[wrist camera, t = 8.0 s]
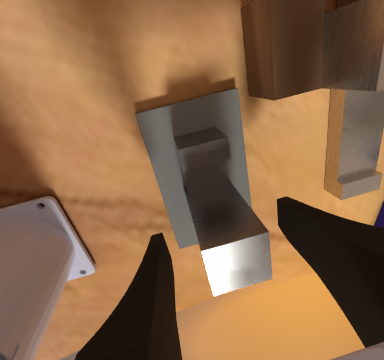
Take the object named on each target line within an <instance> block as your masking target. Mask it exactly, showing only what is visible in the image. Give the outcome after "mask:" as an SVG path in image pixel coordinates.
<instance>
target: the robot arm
mask: <svg viewBox="0 0 384 360" xmlns="http://www.w3.org/2000/svg"><path fill="white" fill-rule="evenodd" d="M39 203H42V204H44V205H45V206H41V205H40V204H39ZM277 211H278V226H279V228H280V229H281V231H282V232H283V234H284V235H285V237H286V238H287V240H288V241H289V242H290V243H291V244H292V245H293V247H294V248H295V249H296V250H297V251H298V252H299V254H300V255H301V256H302V257H303V258H304V259H305V260H306V262H307V263H308V264H309V265H310V266H311V267H312V269H313V270H314V271H315V272H316V273H317V275H318V276H319V277H320V278H321V280H322V282H323V283H324V284H325V286H326V287H327V289H328V290H329V291H330V293H331V294H332V296H333V297H334V299H335V300H336V301H337V303H338V305H339V306H340V308H341V309H342V311H343V312H344V314H345V316H346V317H347V319H348V320H349V322H350V323H351V325H352V327H353V328H354V330H355V331H356V333H357V335H358V336H359V338H360V339H361V341H362V343H363V345H364V346H365V348H364V349H361V350H358V351H355V352H352V353H349V354H346V355H343V356H340V357H337V358H334V359H331V360H384V228H381V227H377V226H372V225H367V224H363V223H359V222H356V221H352V220H348V219H345V218H342V217H339V216H336V215H333V214H330V213H327V212H324V211H322V210H319V209H317V208H314V207H311V206H309V205H307V204H304V203H302V202H299V201H297V200H294V199H292V198H289V197H283V198H280V199H277ZM95 269H96V266H95V264H94V262H93V261H92V259H91V257H90V256H89V254H88V252H87V251H86V249H85V247H84V246H83V244H82V242H81V241H80V239H79V237H78V236H77V234H76V232H75V230H74V229H73V227H72V225H71V224H70V222H69V220H68V219H67V217H66V215H65V214H64V212H63V210H62V209H61V207H60V205H59V204H58V202H57V200H56V199H55V198H54V197H52V196H45V197H42V198H38V199H34V200H30V201H27V202H23V203H19V204H15V205H12V206H8V207H4V208H1V209H0V360H33V359H34V357H35V354H36V352H37V350H38V347H39V345H40V343H41V340H42V338H43V336H44V333H45V331H46V328H47V326H48V324H49V321H50V319H51V317H52V314H53V312H54V310H55V307H56V305H57V303H58V300H59V298H60V295H61V293H62V291H63V288H64V286H65V284H66V281H69V280H73V279H76V278H80V277H83V276H87V275H90V274H93V273H94V272H95ZM83 270H85V271H83ZM75 360H182V355H181V348H180V342H179V335H178V328H177V321H176V308H175V287H174V272H173V266H172V260H171V256H170V253H169V250H168V247H167V245H166V242H165V239H164V236H163V234H162V233H159V234H155V235H152V236H151V238H150V242H149V244H148V247H147V250H146V253H145V255H144V257H143V260H142V262H141V264H140V267H139V269H138V271H137V273H136V275H135V277H134V279H133V281H132V283H131V284H130V286H129V288H128V290H127V291H126V293H125V295H124V296H123V298H122V299H121V301H120V302H119V304H118V305H117V307H116V308H115V309H114V311H113V312H112V314H111V315H110V316H109V318H108V319H107V320H106V321H105V323H104V324H103V325H102V326H101V328H100V329H99V330H98V331H97V332H96V334H95V335H94V336H93V337H92V338H91V339H90V340H89V341H88V342H87V343H86V345H85V346H84V347H83V348H82V349H81V350H80V351H79V352H78V353H77V355H76V358H75Z"/></svg>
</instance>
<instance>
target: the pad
mask: <svg viewBox="0 0 384 360" xmlns="http://www.w3.org/2000/svg"><path fill="white" fill-rule="evenodd" d="M135 115H136V118H137V121H138V124H139V127H140V130H141V133H142V136H143V139H144V143H145V146H146V149H147V152H148V155H149V158H150V161H151V164H152V167H153V170H154V173H155V176H156V179H157V182H158V185H159V188H160V191H161V194H162V197H163V200H164V203H165V206H166V209H167V212H168V215H169V218H170V221H171V224H172V228H173V231H174V234H175V237H176V240H177V243H178V246H179V249H181V248H185V247H188V246H192V245H195V244H198V243H199V242H198V239H197V235H196V232H195V228H194V225H193V221H192V217H191V214H190V210H189V206H188V203H187V199H186V195H185V192H184V187H186V183H185V179H184V175H183V171H182V168H181V164H180V160H179V156H178V153H177V149H176V145H175V141H174V137H178V136H181V135H185V134H189V133H193V132H197V131H201V130H204V129H208V128H212V127H216V128H217V129H218V130H220V131H221V132H222V133H223V134H225V135H226V136H227V137H228V141H229V147H230V154H231V159H229V160H226V161H225V163H226V169H227V176H228V179H229V180H230V181H231V183H232V184H233V185H234V186H235V188H236V189H237V190H238V192H239V193H240V194H241V196H242V197H243V198H244V200H245V201H246V202H247V204H248V205H249V206H250V208H251V209H252V207H251V199H250V190H249V181H248V172H247V164H246V155H245V146H244V137H243V128H242V120H241V111H240V102H239V93H238V88H232V89H228V90H224V91H221V92H217V93H213V94H209V95H205V96H201V97H197V98H193V99H189V100H185V101H181V102H177V103H173V104H169V105H165V106H161V107H158V108H154V109H150V110H146V111H142V112H138V113H136V114H135Z"/></svg>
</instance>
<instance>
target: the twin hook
mask: <svg viewBox="0 0 384 360" xmlns="http://www.w3.org/2000/svg"><path fill="white" fill-rule="evenodd" d="M321 88H324V89H331V94H330V109H329V124H328V140H327V155H326V170H325V185H324V189H325V190H326V191H328V192H329V193H331V194H332V195H334V196H335V197H337V198H339V199H340V200H343V199H347V198H350V197H354V196H357V195H360V194H364V193H367V192H371V191H374V190H378V189H379V188H380V183H381V178H382V173H380V172H378V171H376V166H377V161H378V155H379V150H380V144H381V139H382V133H383V128H384V0H359V1H357V2H354V3H351V4H349V5H346V6H343V7H341V8H338V9H335V10H333V11H330V12H327V13H325V16H324V38H323V59H322V80H321Z"/></svg>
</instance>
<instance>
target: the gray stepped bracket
mask: <svg viewBox="0 0 384 360" xmlns="http://www.w3.org/2000/svg"><path fill="white" fill-rule="evenodd" d="M174 141H175V145H176V149H177V153H178V156H179V160H180V164H181V168H182V171H183V175H184V179H185V183H186V187H184V192H185V195H186V199H187V203H188V206H189V210H190V214H191V217H192V221H193V225H194V228H195V232H196V235H197V239H198V242H199V246H200V250H201V253H202V257H203V260H204V264H205V267H206V271H207V275H208V278H209V282H210V285H211V289H212V292H213V296H217V295H220V294H224V293H227V292H230V291H233V290H237V289H240V288H243V287H247V286H250V285H253V284H256V283H260V282H263V281H266V280H270V279H272V267H271V253H270V240H269V231H268V230H267V229H266V227H265V226H264V225H263V223H262V222H261V221H260V219H259V218H258V217H257V215H256V214H255V213H254V212H253V210H252V209H251V208H250V206H249V205H248V204H247V202H246V201H245V200H244V198H243V197H242V196H241V194H240V193H239V192H238V190H237V189H236V188H235V186H234V185H233V184H232V183H231V181H230V180H229V179H228V176H227V169H226V163H225V161H226V160H229V159H231V154H230V147H229V141H228V137H227V136H226V135H225V134H223V133H222V132H221V131H220V130H218V129H217V128H216V127H212V128H208V129H204V130H201V131H197V132H193V133H189V134H185V135H181V136H178V137H174Z"/></svg>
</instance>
